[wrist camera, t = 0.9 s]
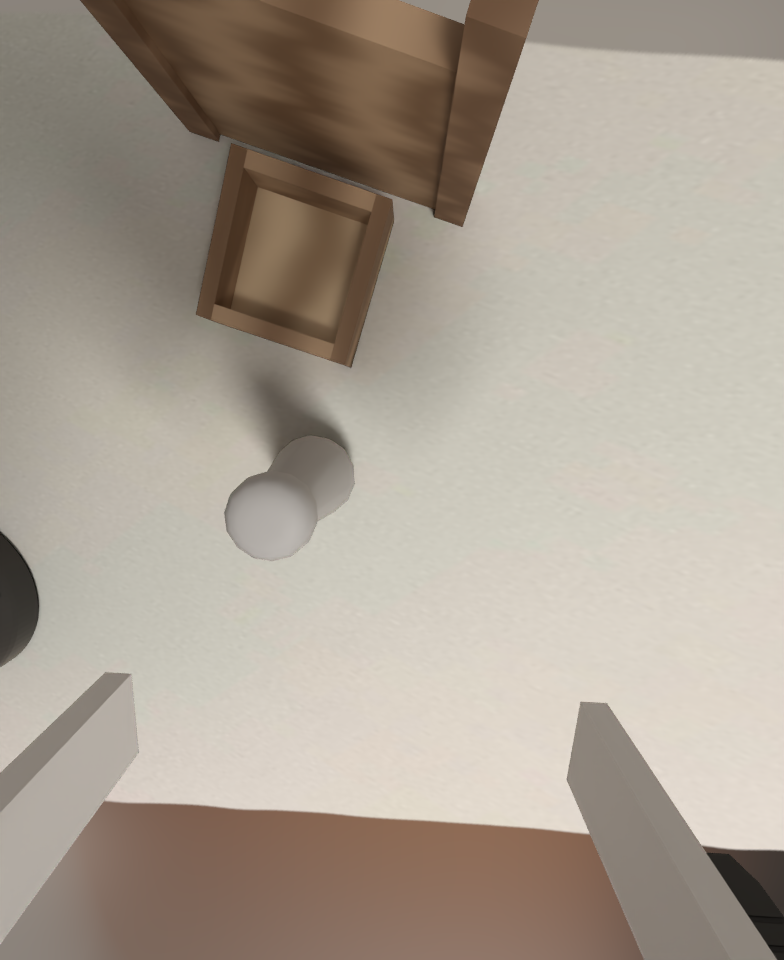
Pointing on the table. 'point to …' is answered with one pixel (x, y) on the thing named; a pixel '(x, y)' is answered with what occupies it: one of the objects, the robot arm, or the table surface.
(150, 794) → the table surface
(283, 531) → the salt shaker
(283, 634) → the table surface
